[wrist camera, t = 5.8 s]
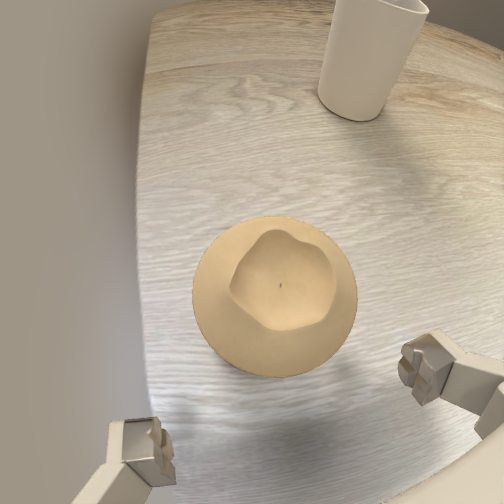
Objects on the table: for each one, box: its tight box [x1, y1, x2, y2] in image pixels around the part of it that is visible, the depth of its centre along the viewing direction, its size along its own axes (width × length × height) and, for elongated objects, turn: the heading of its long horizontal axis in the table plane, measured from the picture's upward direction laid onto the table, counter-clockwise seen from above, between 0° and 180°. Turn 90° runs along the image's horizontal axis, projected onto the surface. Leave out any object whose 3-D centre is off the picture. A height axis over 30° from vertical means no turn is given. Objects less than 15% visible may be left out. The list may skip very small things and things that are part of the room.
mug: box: [317, 0, 429, 121], centre depth 21 cm, size 10×7×12 cm, turn 176°
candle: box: [192, 216, 358, 377], centre depth 13 cm, size 6×6×10 cm
